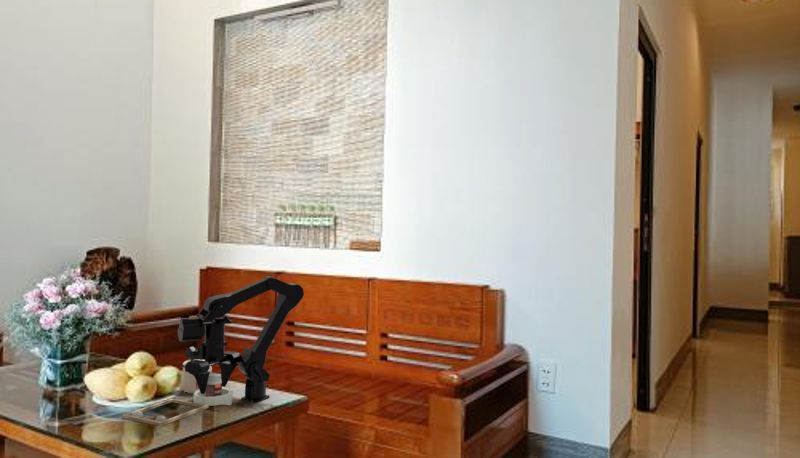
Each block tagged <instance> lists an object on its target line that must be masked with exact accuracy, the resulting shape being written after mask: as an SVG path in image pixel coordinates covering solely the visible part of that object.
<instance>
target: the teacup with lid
mask: <svg viewBox="0 0 800 458" xmlns="http://www.w3.org/2000/svg"><path fill="white" fill-rule="evenodd" d="M195 360H199V359H195ZM189 361H191V360H190V359H187V360H185V361H184V362H183V363H182V365H181V366H182V385H181V386H182V387H181V389H182V392H183V391H185V392H188V393H187V394H194V393H195V392H196V391H198V390H200V389H199V387H198V384H197V381H196V379H195V377H194V376H193V375H192V374H189V373H188V372H185V364H186V363H187V362H189ZM202 361H205V360H202ZM208 372H210V374H211V373H213V367H212V366H210V368H209V370H208ZM185 392H184V393H185Z"/></svg>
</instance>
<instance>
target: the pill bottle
mask: <svg viewBox="0 0 800 458" xmlns="http://www.w3.org/2000/svg"><path fill="white" fill-rule="evenodd" d="M222 388H223V387H222V381H221V373H217V372H216V373H215V372H212V373H211V374H209V378H208V383H207V387H206V392H205V397H215V396H222Z"/></svg>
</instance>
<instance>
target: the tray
mask: <svg viewBox="0 0 800 458" xmlns="http://www.w3.org/2000/svg"><path fill="white" fill-rule="evenodd" d="M171 403H175V404H180V405H186V406H190V407H197V408H194V409H191V410H188V411H186V412H183V413H181V414H178V415H175V416H173V417H170V418H168V419H167V418H166V419H167V420H164V421H162V422H159V421H155V419H149V418H145V417H144V418H143V417H141V418H140V417H135V416H132V414H133V413H134V412H135V411H141V412H142V413H144V412H147V411H150V410H152V409H156V408H158V407H162V406H165V405H167V404H171ZM206 409H209V406H208V405H205V404H199V403H194V402H192V401H188V400H183V399H177V398H169V399H166V400H164V401H160V402H157V403H154V404H152V405H148V406H145V407H142V408H139V409H136V410H134V411H131V412H128V413H124V414H122V415H121V418H122V419H126V420H130V421H135V422H141V423H145V424H149V425H152V426H153V425H155V426H159V427H162V426H165V425H167V424H169V423H173V422H175V421H177V420H180V419H182V418H186V417H188V416H191V415H194V414H196V413H198V412H202V411H203V410H204V411H205V410H206Z"/></svg>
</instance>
